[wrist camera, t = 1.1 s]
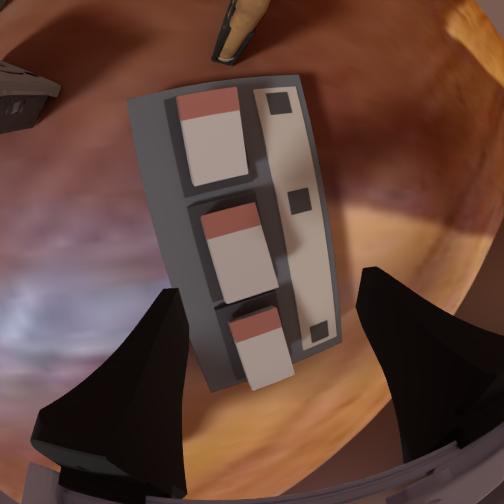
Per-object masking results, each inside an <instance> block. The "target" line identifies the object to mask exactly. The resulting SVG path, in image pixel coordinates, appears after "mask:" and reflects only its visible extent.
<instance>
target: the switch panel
mask: <svg viewBox="0 0 504 504" xmlns="http://www.w3.org/2000/svg"><path fill="white" fill-rule="evenodd" d="M230 87H237V92H238V99H239V106H240V117H241V124H242V131H243V139H244V146H245V153H246V161H247V168H248V174H246V175H241V176H237V177H232V178H228V179H223V180H219V181H215V182H211V183H207V184H203V185H199V186H194V185H193V183H192V180H191V175H190V170H189V165H188V160H187V154H186V149H185V144H184V138H183V133H182V127H181V122H180V118H179V112H178V107H177V101H176V97H177V96H182V95H187V94H192V93H198V92H203V91H210V90H216V89H223V88H230ZM127 105H128V112H129V117H130V123H131V129H132V134H133V139H134V144H135V149H136V154H137V159H138V164H139V168H140V173H141V177H142V181H143V186H144V190H145V194H146V198H147V202H148V206H149V210H150V214H151V218H152V222H153V225H154V229H155V233H156V236H157V240H158V243H159V247H160V250H161V254H162V257H163V260H164V264H165V267H166V270H167V274H168V277H169V280H170V283H171V286H172V288H179V291H180V295H181V299H182V302H183V306H184V309H185V313H186V316H187V320H188V323H189V338H190V341H191V344H192V346H193V349H194V352H195V354H196V357H197V359H198V362H199V364H200V367H201V369H202V372H203V374H204V377H205V379H206V382H207V384H208V387H209V389H210V391H211V393H212V392H215V391H218V390H221V389H225V388H228V387H231V386H234V385H237V384H240V383H242V382H245V381H248V380H247V377H246V374H245V371H244V368H243V365H242V362H241V359H240V356H239V353H238V350H237V347H236V344H235V341H234V339H233V336H232V333H231V330H230V327H229V324H228V320H230V319H233V318H236V317H239V316H242V315H245V314H248V313H251V312H254V311H257V310H260V309H263V308H266V307H269V306H274V307H277V311H278V314H279V318H280V321H281V325H282V330H283V333H284V337H285V340H286V344H287V348H288V351H289V355H290V358H291V362H292V364H293V363H295V362H298V361H300V360H303V359H305V358H307V357H310V356H312V355H314V354H316V353H319V352H321V351H323V350H325V349H328V348H330V347H332V346H334V345H336V344H338V343H341V342H342V332H341V319H340V307H339V296H338V286H337V277H336V268H335V260H334V252H333V244H332V237H331V230H330V223H329V217H328V210H327V204H326V198H325V192H324V186H323V181H322V175H321V170H320V165H319V160H318V155H317V150H316V145H315V140H314V136H313V131H312V126H311V122H310V118H309V113H308V109H307V105H306V101H305V97H304V93H303V89H302V85H301V81H300V78H299V75H278V76H261V77H249V78H239V79H230V80H222V81H215V82H208V83H202V84H196V85H190V86H185V87H180V88H175V89H170V90H165V91H161V92H156V93H152V94H148V95H144V96H140V97H136V98H132V99H129V100H127ZM253 202H255V204H256V208H257V211H258V215H259V218H260V221H261V226H262V230H263V233H264V237H265V240H266V244H267V247H268V251H269V254H270V258H271V261H272V265H273V268H274V272H275V275H276V279H277V282H278V286H279V287H278V288H275V289H272V290H269V291H266V292H263V293H260V294H257V295H254V296H251V297H248V298H245V299H241V300H238V301H235V302H232V303H229V304H227V303H226V302H225V301H224V297H223V294H222V291H221V287H220V284H219V281H218V277H217V274H216V271H215V267H214V264H213V261H212V257H211V254H210V250H209V247H208V243H207V241H206V237H205V234H204V230H203V227H202V223H201V219H200V218H201V216H203V215H207V214H210V213H214V212H218V211H222V210H226V209H229V208H233V207H237V206H241V205H245V204H249V203H253Z"/></svg>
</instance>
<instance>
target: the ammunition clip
mask: <svg viewBox="0 0 504 504" xmlns="http://www.w3.org/2000/svg"><path fill="white" fill-rule="evenodd" d="M270 1H271V0H231V2H230V5H229V7H228V10H227V13H226V16H225V19H224V21H223V24H222V27H221V30H220V33H219V36H218V39H217V42H216V46H215V49H214V52H213V55H212V58H211V60H212V61H215V62H219V63H223V64H227V65H231V66H233V65H234V64H235V62H236V61H237V59H238V58H239V56H240V55H241V53H242V52H243V50H244V49H245V47H246V46H247V44H248V43H249V41H250V40H251V38H252V37H253V35H254V32H255V28H256V25H257V24H258V22H259V21H260V19H261V18H262V16H263V15H264V14H265V12H266V11H267V9H268V5H269V2H270Z"/></svg>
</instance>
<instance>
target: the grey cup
mask: <svg viewBox="0 0 504 504" xmlns="http://www.w3.org/2000/svg"><path fill="white" fill-rule="evenodd" d="M6 1H7V0H0V10H1V8H2V7H3V6H4V4H5V3H6Z"/></svg>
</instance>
